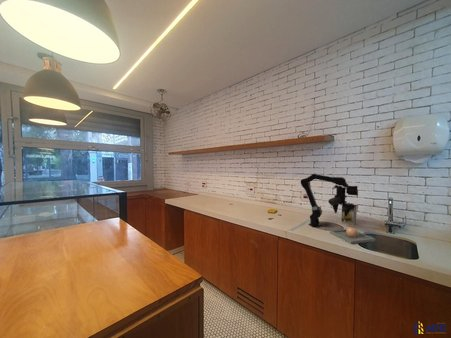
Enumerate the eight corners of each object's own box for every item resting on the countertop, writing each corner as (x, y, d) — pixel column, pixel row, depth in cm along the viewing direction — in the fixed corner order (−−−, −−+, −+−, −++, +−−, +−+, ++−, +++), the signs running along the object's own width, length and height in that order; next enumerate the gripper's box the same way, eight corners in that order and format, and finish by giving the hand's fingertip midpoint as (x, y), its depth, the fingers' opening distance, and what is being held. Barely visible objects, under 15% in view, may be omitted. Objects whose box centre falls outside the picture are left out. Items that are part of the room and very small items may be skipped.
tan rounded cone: (343, 235, 127) (344, 226, 127) (351, 234, 128) (351, 226, 128) (351, 238, 121) (351, 229, 121) (358, 237, 123) (359, 229, 122)
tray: (330, 233, 132) (330, 230, 132) (351, 231, 135) (351, 228, 135) (351, 244, 115) (351, 241, 114) (375, 241, 118) (375, 238, 118)
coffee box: (341, 222, 155) (341, 203, 155) (344, 221, 159) (344, 202, 158) (353, 225, 148) (353, 205, 147) (356, 223, 151) (357, 204, 151)
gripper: (322, 192, 144) (322, 212, 144) (341, 196, 125) (340, 219, 126) (334, 192, 146) (334, 211, 146) (355, 196, 127) (354, 218, 128)
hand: (340, 214), depth 137 cm, fingers open, 9 cm apart
